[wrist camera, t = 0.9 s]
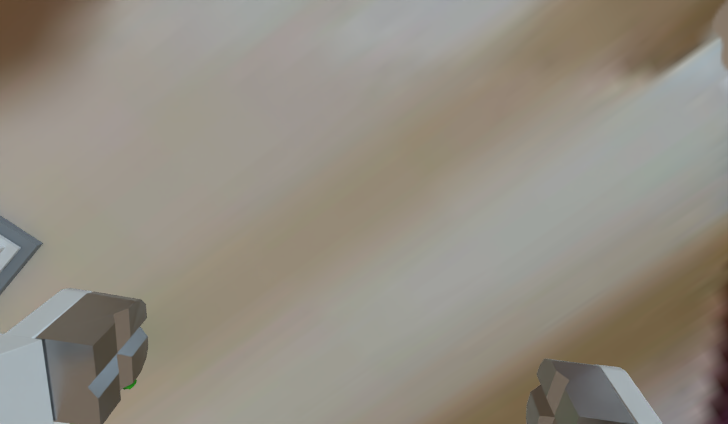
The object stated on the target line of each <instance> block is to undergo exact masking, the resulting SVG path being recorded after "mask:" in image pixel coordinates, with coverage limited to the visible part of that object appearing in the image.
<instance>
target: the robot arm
mask: <svg viewBox="0 0 728 424" xmlns="http://www.w3.org/2000/svg"><path fill="white" fill-rule="evenodd" d="M146 318H147V313H146V304H145V303H144V302H143V301H142V300H141V299H135V298H129V297H123V296H117V295H111V294H105V293H99V292H91V291H87V290H80V289H73V288H67V289H62V290H61V291H59V292H58V293H57V294H56V295H54V296H53V297H52V298H50V299H49V300H48V301H46V302H45V303H44V304H43V305H41V306H40V307H39V308H37V309H36V310H35V311H34V312H32V313H31V314H30V315H28V316H27V317H26V318H25V319H23V320H22V321H21V322H19V323H18V324H17V325H15V326H14V327H13V328H12V329H10V330H9V331H8V332H6V333H5V334H0V424H54V422H61V423H69V424H103V423H104V422H105V421H106V419H107V418H108V417H109V415H110V414H111V412H112V411H113V410H114V408H115V407H116V406H117V404H118V403H119V402H120V400H121V397H120V390H121V389H123V388H125V387H127V386H129V385H131V384H132V383H134V381H135V380H136V378H137V377H138V375H139V374H140V373H141V370H142V368H143V365H144V363H145V360H146V356H147V350H148V336H147V335H146V334H145V332H144V331H143V330H142V328H141V327H140V326H141V324H142V323H143V322H144V321H145V320H146ZM537 377H538V379H539V381H540V384H541V385H539V386H538V387H537V388H535V389H534V390H532V391H531V392H530V396H529V399H528V403H527V410H526V422H527V424H663V423H662V422H661V420H660V419H659V418H658V416H657V415H656V413H655V412H654V410H653V409H652V408H651V406H650V405H649V403H648V402H647V401H646V399H645V398H644V396H643V395H642V393H641V392H640V391H639V389H638V388H637V386H636V385H635V384H634V382H633V381H632V379H631V378H630V376H629V375H628V374H627V372H626V371H625V370H623V369H621V368H620V367H613V366H604V365H590V364H582V363H575V362H567V361H560V360H552V359H544V360H543V361H542V363H541V364H540V366H539V369H538V372H537Z"/></svg>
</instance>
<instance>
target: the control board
mask: <svg viewBox="0 0 728 424" xmlns="http://www.w3.org/2000/svg"><path fill="white" fill-rule="evenodd" d="M0 235H2V236H4V237H5V238H7V239H8V240H10V241H11V242H13V243H14V244H16V245H18V246H19V247H21V249H20V250H19V251H18V252H17V254H16V255H15V256H14V257H13V258H12V260H11V261H10V262H9V263H8V264H7V266H6V267H5V268H4V269H3V270H2V272H1V273H0V295H1V293H2V292H3V291H4V290H5V289H6V287H7V286H8V285H9V284H10V283H11V281H12V280H13V279H14V278H15V276H16V275H17V274H18V273H19V272H20V270H21V269H22V268H23V267H24V266H25V264H26V263H27V262H28V261H29V260H30V258H31V257H32V256H33V255H34V253H35V252H36V251H37V250H38V249H39V247H40V246H41V245H42V244H43V243H42V242H40V241H38V240H37V239H35V238H34V237H32V236H31V235H29V234H28V233H26V232H25V231H23V230H22V229H20V228H18V227H17V226H15V225H14V224H12V223H11V222H9V221H8V220H6V219H5V218H3V217H2V216H0Z"/></svg>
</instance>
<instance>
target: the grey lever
mask: <svg viewBox="0 0 728 424" xmlns="http://www.w3.org/2000/svg"><path fill="white" fill-rule="evenodd" d="M20 249H21V247H19V246H18V245H16V244H14V243H13V242H11V241H10V240H8V239H7V238H5V237H4V236H2V235H0V273H1V272H2V270H3V269H4V268H5V267H6V266H7V264H8V263H9V262H10V261H11V260H12V258H13V257H14V256H15V255H16V254H17V252H18V251H19V250H20Z"/></svg>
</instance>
